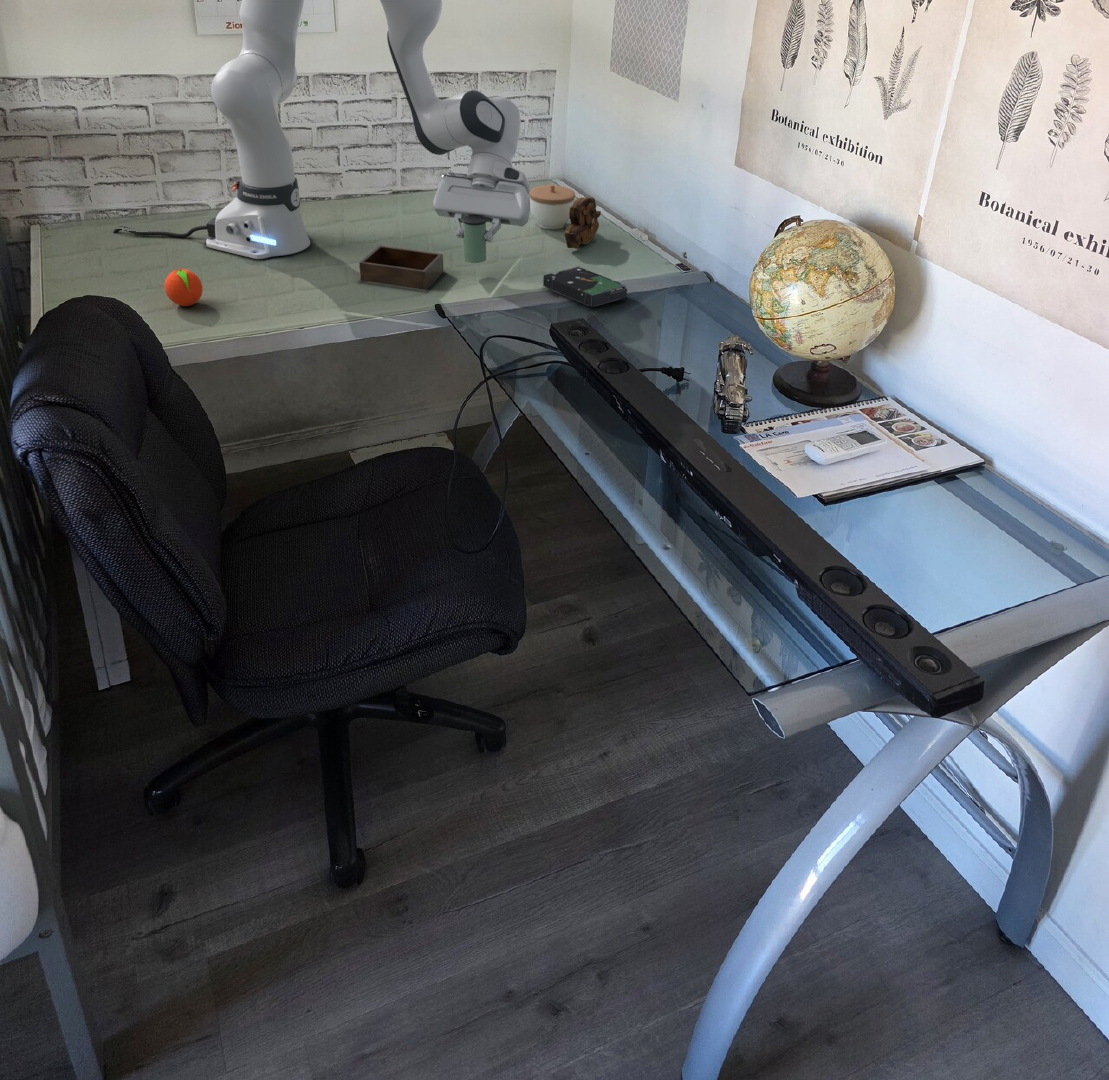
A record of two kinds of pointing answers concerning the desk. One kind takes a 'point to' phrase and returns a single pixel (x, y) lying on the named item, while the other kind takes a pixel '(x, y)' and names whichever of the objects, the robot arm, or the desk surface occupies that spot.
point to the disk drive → (585, 286)
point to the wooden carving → (582, 222)
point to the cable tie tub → (474, 238)
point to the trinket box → (551, 205)
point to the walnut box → (401, 267)
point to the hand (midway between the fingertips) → (474, 238)
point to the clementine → (183, 287)
